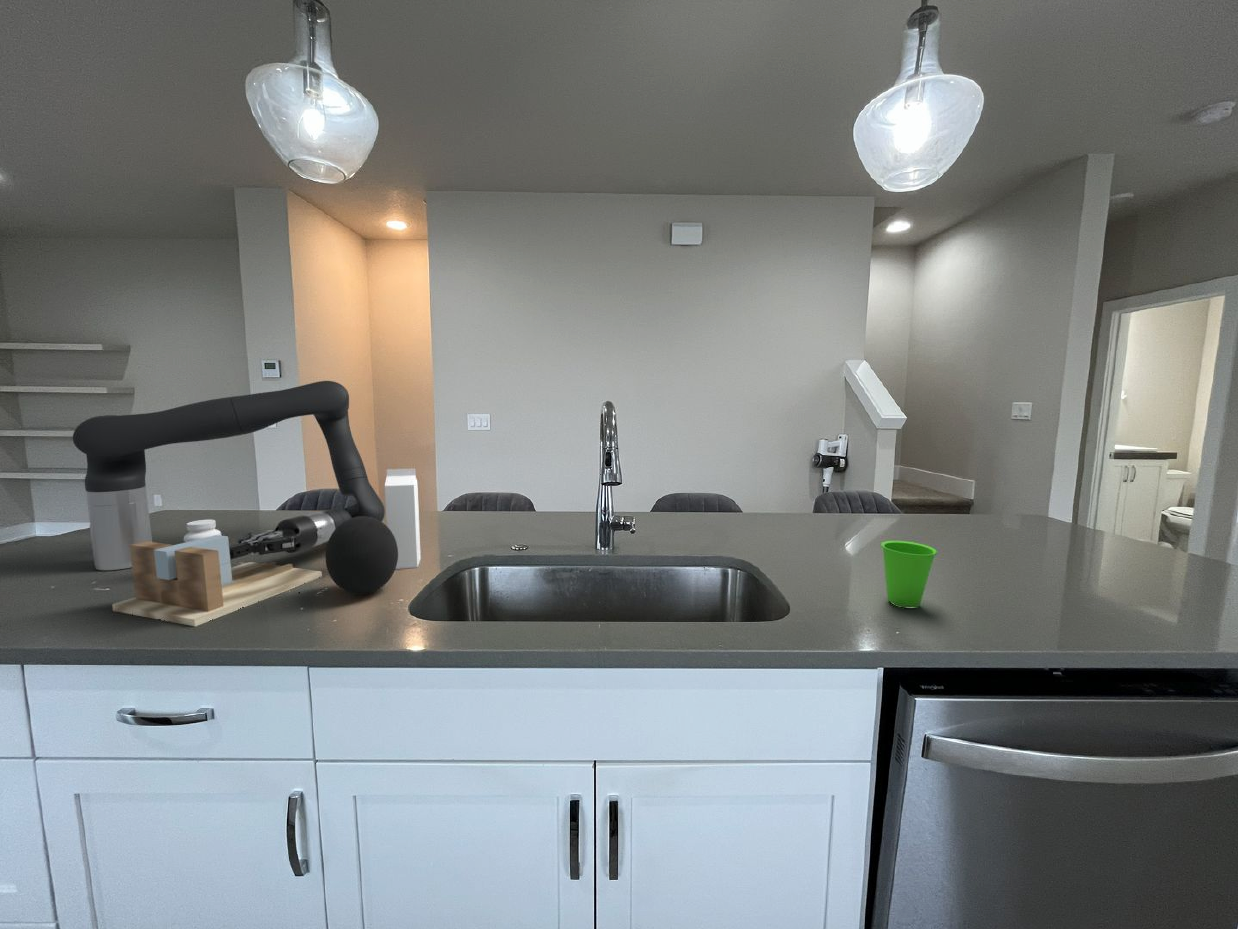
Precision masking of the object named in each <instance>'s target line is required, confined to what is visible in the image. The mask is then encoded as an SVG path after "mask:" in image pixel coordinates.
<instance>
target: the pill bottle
mask: <svg viewBox="0 0 1238 929" xmlns="http://www.w3.org/2000/svg"><path fill="white" fill-rule="evenodd" d="M216 523H217V522H216V520H215V519H200V520H193V521H190V522H187V523H186V529H187V531H188V532H187V533H186V534H185V535H184V536H183V543H185V542H190V541H194V540H198V539H202V538H206V537H211V536H215V535H220V536H223V535H222V532H221V531H220V530H219V529H216V526H217V524H216Z"/></svg>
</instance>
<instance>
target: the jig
mask: <svg viewBox="0 0 1238 929" xmlns="http://www.w3.org/2000/svg"><path fill="white" fill-rule="evenodd" d="M129 546H130V554H131V562H132V567H131V569H132V578H133V587H134V594H135V597H131V598H129V599H124V600H122V601H119V602H118V601H117V602H115V603H113V604H111V606H112V611H113V612H118V613H122V614H128V615H132V614H133V616H137V617H138V616H139V617H142V618H148V619H154V620H158V619H161V620H160V621H164V620H165V621H164V622H169V621H170V622H169V623H175V624H180V625H186V626H190V627H198V626H200V625H204V624H205V623H208V622H210V620H211V621H212V619H213V620H215V619H218V618H220V617H221V618H222V617H224V616H227V615H229V614H231V613H233V612H237V611H239V610H241V609H243V608H242V607H244V608H246V607H249V606H252V605H254V604H257V603H259V602H262V601H264V600H266V599H269V598H272V597H274V596H276V595H279V594H282V593H285V592H287V591H289V590H292V589H294V588H297V587H300V586H302V585H304V583H305V584H308V583H311V582H313V581H315V580H317V579H320V578H323V577H322V576H323V575H322V571H320V570H314V569H313V570H312V569H305V568H299V567H298V568H297V567H293V563H287V564H284V565H277V564H276V561H269V562H266V563H260V562H252V561H249V562H245V563H242V564H238V565H236V566H233V567H232V566H231V574H232V583H230V584H227V585H224V586H222V584H221V574H220V564H219V553H218V550H210V549H202V548H194V547H188V548H184V549H180V550H176V551H175V560H176V569H177V578H174V579H171V580H166V579H160V578H157V572H156V563H155V555H154V550H156V549H160V548H165V547H169V546H173V545H172V544H169V543H161V542H155V541H152V542H148V541H145V542H140V543H136V544H131V545H129ZM319 577H320V578H319ZM258 601H259V602H258ZM240 608H241V609H240ZM238 609H239V610H238Z"/></svg>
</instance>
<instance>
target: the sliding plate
mask: <svg viewBox="0 0 1238 929" xmlns="http://www.w3.org/2000/svg"><path fill="white" fill-rule="evenodd" d="M229 546H230V543H229V536H226V535H222V536H220V535H215V536H211V537H206V538H202V539H198V540H194V541H190V542H185V543H184V542H182V543H177V544H173V545H172V546H169V547H165V548H160V549H156V550H154V555H155V563H156V572H157V578H160V579H166V580H171V579H174V578H177V569H176V560H175V551H176V550H180V549H184V548H188V547H194V548H202V549H210V550H218V553H219V564H220V574H221V584H222V586H224V585H227V584H230V583H232V574H231V568H232V564H231V559H230V552H229Z"/></svg>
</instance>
